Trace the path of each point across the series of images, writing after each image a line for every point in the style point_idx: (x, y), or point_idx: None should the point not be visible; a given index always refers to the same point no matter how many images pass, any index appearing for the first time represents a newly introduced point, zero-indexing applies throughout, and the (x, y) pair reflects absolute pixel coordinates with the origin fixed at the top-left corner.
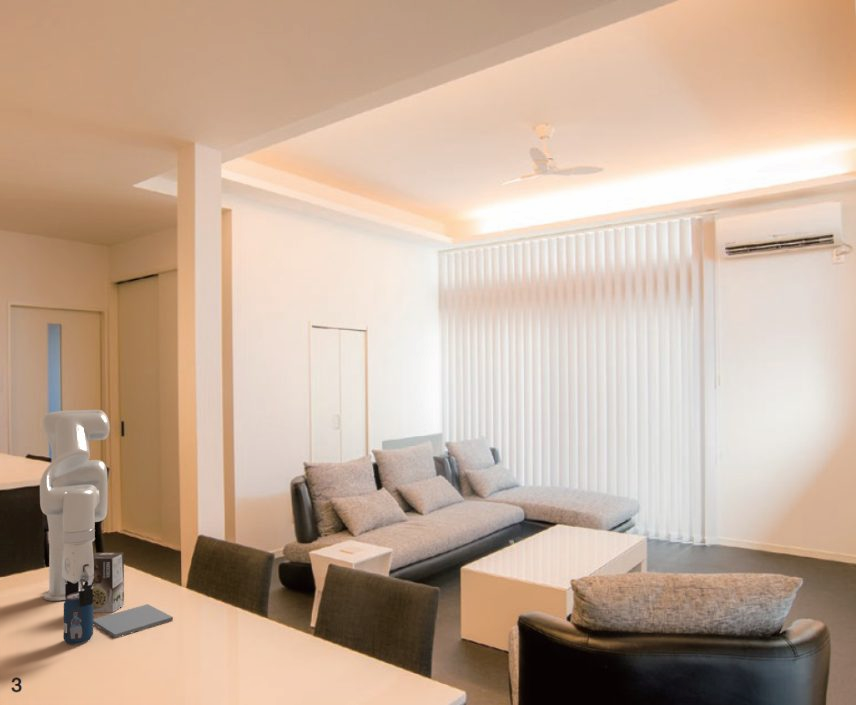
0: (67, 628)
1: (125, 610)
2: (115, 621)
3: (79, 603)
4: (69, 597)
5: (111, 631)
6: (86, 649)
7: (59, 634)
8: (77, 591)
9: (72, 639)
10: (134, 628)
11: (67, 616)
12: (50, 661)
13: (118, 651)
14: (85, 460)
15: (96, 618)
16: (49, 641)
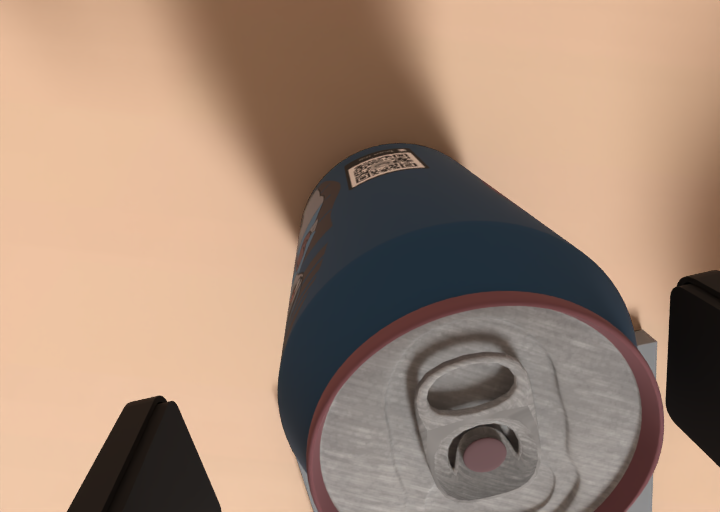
0: (344, 183)
1: (648, 503)
2: None
3: (121, 428)
4: (531, 336)
5: None
6: (195, 252)
7: (604, 134)
8: (717, 454)
9: (311, 195)
10: (314, 508)
11: (350, 214)
12: (91, 13)
13: (56, 396)
14: None
15: (652, 366)
16: (517, 55)
